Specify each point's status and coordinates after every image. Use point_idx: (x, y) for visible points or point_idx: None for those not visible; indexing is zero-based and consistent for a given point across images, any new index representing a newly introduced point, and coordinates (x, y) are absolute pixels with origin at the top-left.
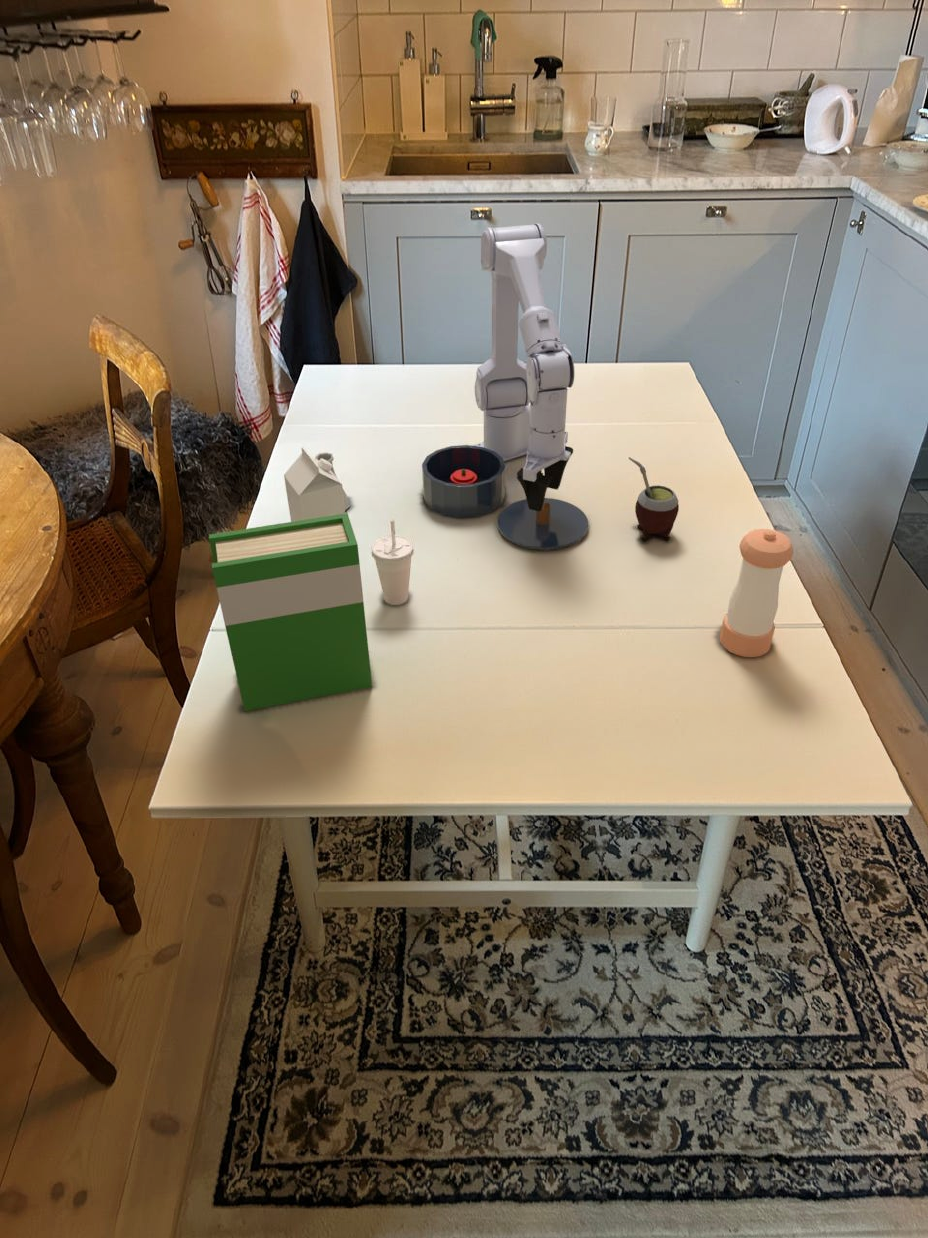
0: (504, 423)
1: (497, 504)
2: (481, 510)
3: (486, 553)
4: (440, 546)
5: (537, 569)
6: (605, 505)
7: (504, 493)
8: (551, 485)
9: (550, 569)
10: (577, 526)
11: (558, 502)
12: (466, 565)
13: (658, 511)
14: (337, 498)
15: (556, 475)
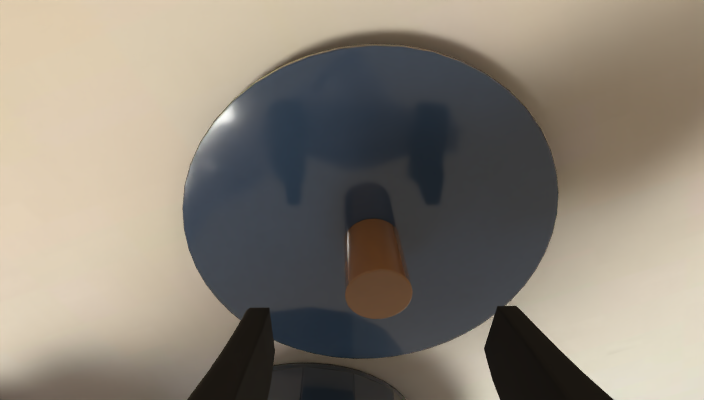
0: None
1: (323, 374)
2: (383, 394)
3: (575, 309)
4: None
5: (665, 146)
6: (52, 42)
7: None
8: (269, 346)
9: (665, 99)
10: (350, 102)
11: (207, 238)
12: (644, 328)
13: None
14: None
15: (248, 398)
